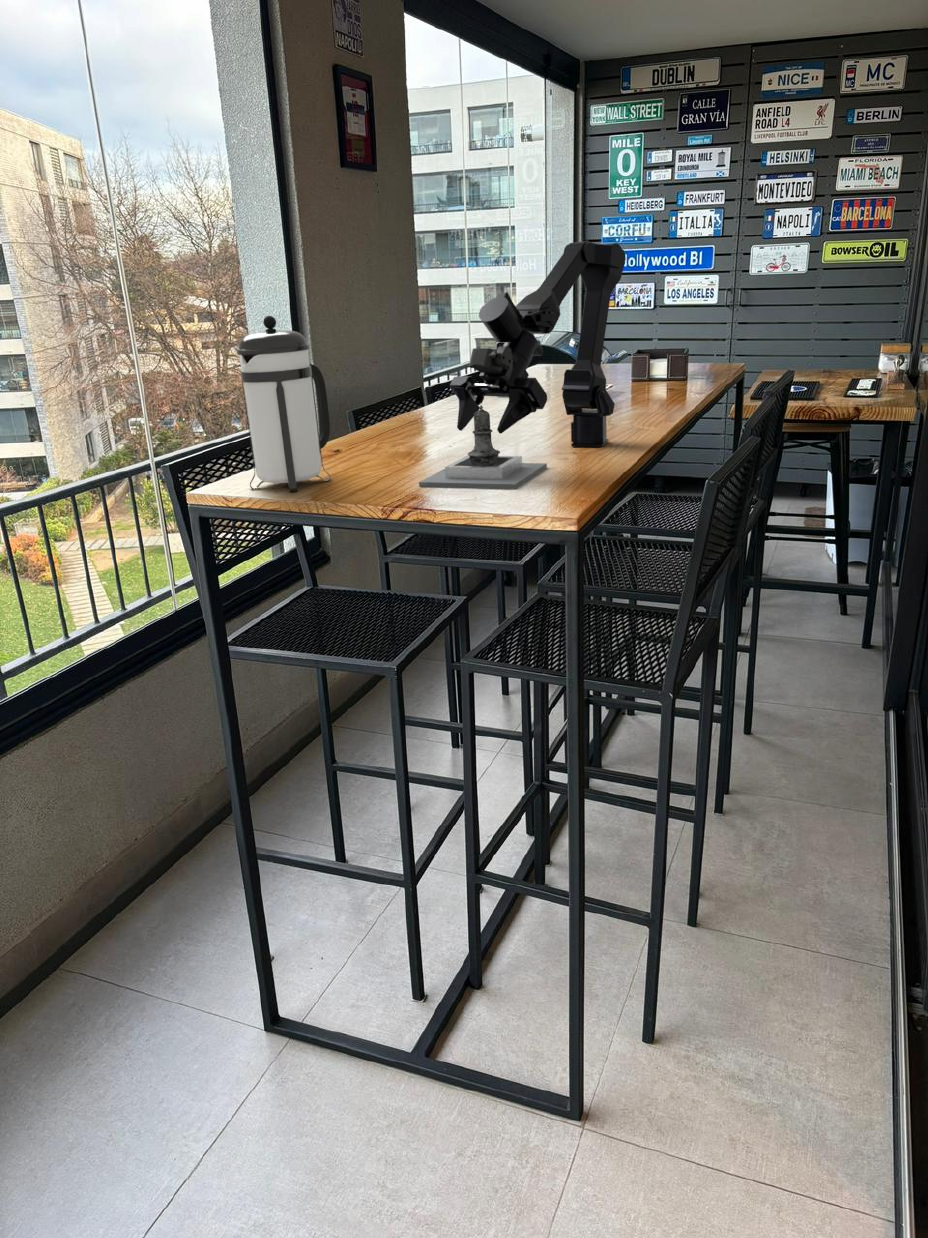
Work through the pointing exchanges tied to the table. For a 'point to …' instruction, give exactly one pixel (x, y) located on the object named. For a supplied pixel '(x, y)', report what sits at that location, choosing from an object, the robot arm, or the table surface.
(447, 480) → the socket board
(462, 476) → the socket collar
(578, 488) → the table surface
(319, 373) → the coffee press
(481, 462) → the salt shaker
